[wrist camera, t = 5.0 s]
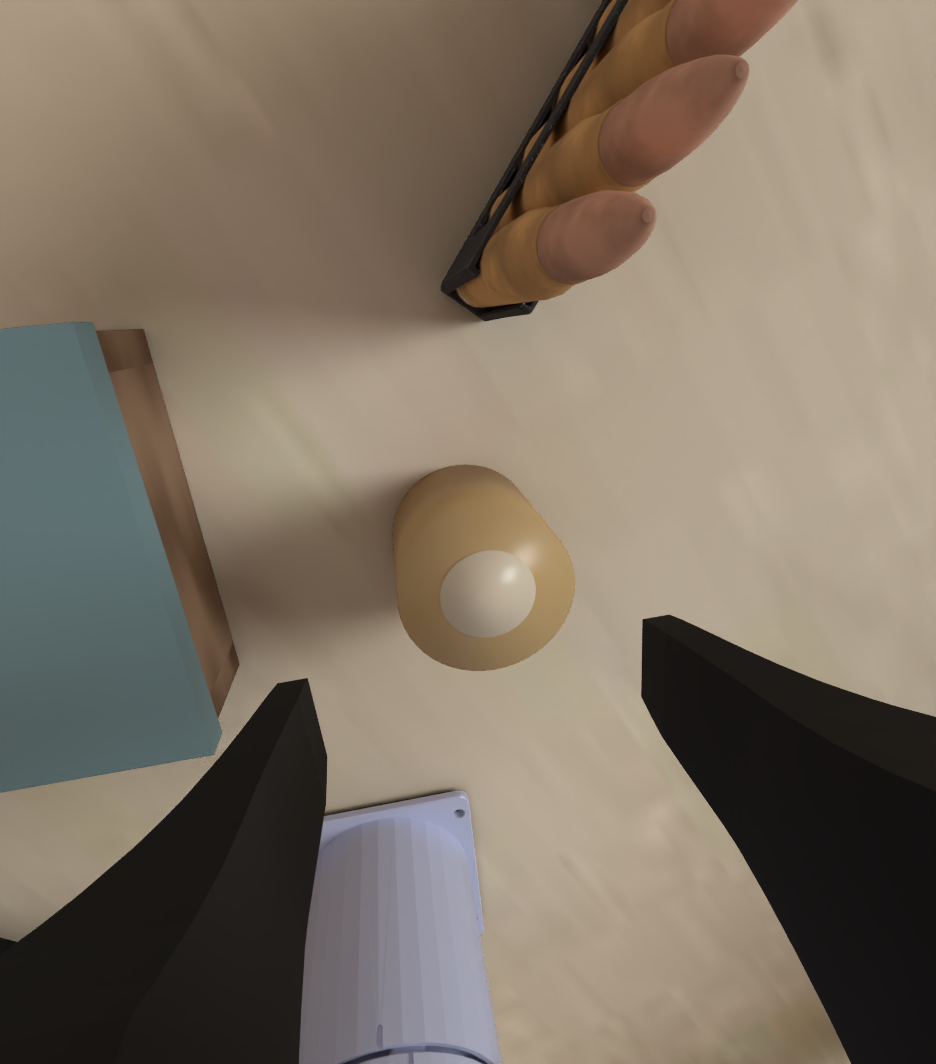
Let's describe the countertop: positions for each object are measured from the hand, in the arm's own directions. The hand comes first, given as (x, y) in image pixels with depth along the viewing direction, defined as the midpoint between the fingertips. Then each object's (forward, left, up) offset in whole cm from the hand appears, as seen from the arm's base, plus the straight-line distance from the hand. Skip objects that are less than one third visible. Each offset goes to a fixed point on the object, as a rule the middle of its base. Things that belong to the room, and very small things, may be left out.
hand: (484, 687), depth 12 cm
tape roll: (0, -1, -10) cm, 10 cm away
